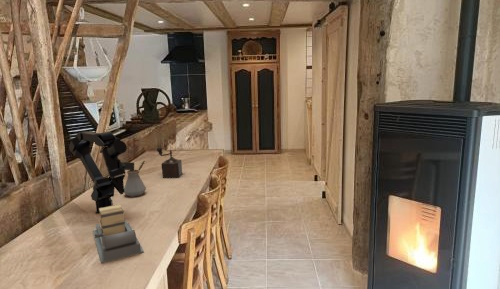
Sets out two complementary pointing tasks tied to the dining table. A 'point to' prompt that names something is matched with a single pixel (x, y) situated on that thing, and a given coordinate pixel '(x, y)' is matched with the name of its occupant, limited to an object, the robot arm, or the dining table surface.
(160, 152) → the manual coffee grinder
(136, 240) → the bay
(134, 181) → the coffee pot
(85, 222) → the dining table surface
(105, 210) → the crate
